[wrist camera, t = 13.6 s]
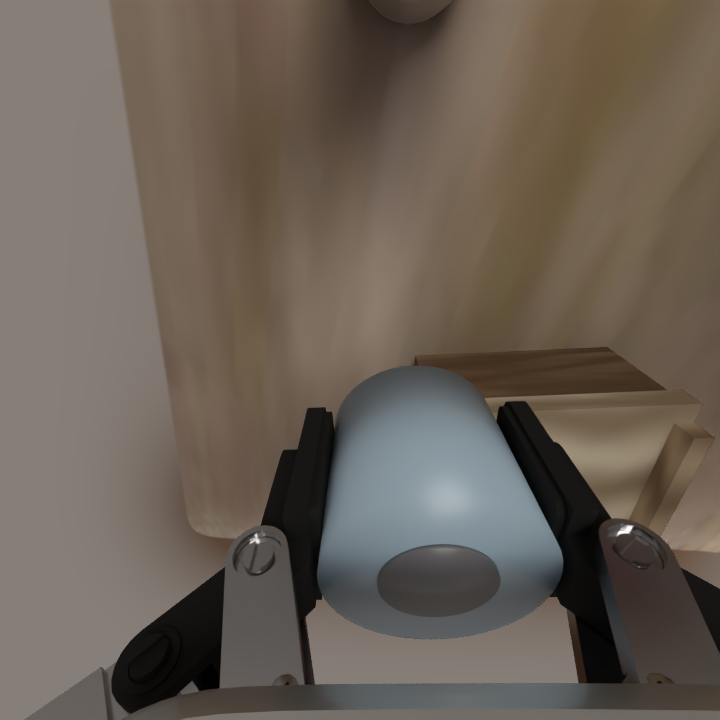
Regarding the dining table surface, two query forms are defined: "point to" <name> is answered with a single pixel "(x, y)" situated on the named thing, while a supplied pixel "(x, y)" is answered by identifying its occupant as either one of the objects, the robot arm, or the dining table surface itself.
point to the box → (545, 372)
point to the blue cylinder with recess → (430, 513)
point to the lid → (627, 446)
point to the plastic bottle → (409, 9)
